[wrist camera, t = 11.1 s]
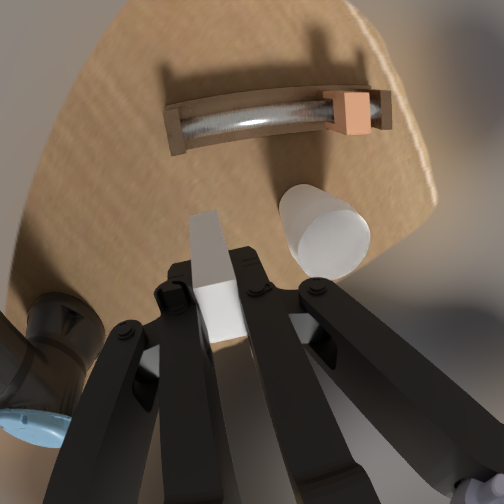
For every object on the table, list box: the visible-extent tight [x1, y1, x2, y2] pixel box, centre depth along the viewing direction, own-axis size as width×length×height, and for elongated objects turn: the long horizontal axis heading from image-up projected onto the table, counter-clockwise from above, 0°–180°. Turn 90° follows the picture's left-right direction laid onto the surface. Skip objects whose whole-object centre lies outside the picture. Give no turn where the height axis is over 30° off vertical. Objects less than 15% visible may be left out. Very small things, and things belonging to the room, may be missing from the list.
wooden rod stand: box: [163, 85, 392, 156], centre depth 33 cm, size 27×6×6 cm, turn 97°
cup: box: [279, 184, 370, 280], centre depth 37 cm, size 9×9×12 cm
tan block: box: [323, 91, 371, 135], centre depth 30 cm, size 3×5×6 cm, turn 7°
